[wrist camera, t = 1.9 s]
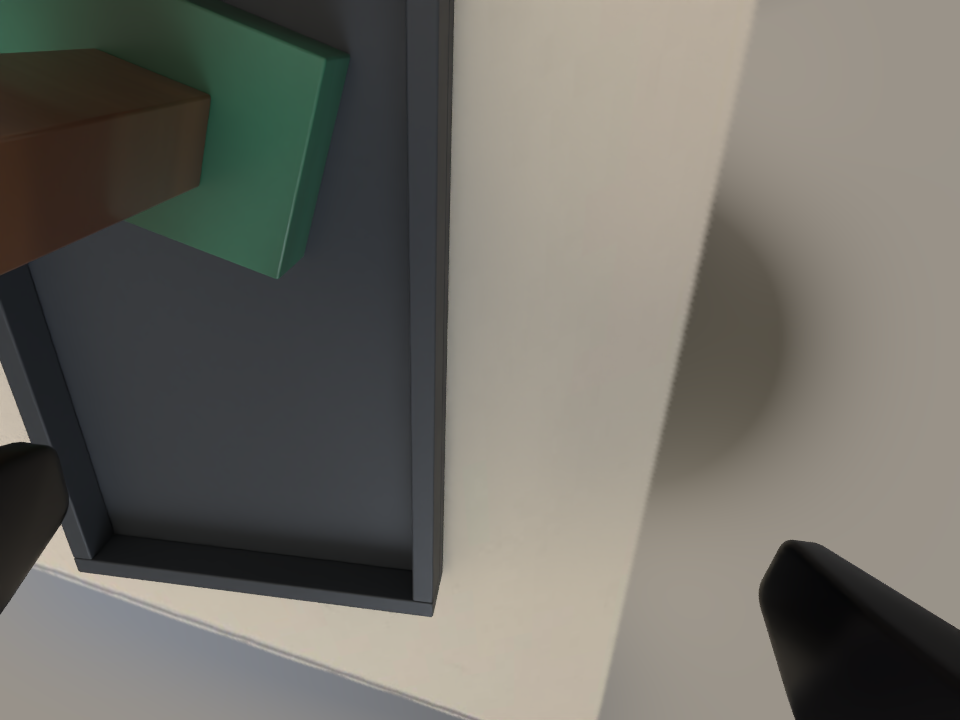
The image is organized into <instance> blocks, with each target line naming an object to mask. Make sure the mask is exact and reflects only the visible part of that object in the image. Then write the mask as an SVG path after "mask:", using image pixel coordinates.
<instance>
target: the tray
mask: <svg viewBox="0 0 960 720" xmlns="http://www.w3.org/2000/svg"><path fill="white" fill-rule="evenodd" d="M220 1H222V2H225V3H227V4H230V5H232V6H234V7H237V8H239V9H242V10H244V11H246V12H249V13H251V14H254V15H256V16H259V17H261V18H263V19H266V20H268V21H271V22H273V23H275V24H278V25H280V26H283V27H285V28H288V29H290V30H292V31H295V32H297V33H300V34H302V35H304V36H307V37H309V38H312V39H314V40H317V41H319V42H321V43H324V44H326V45H329V46H331V47H333V48H336V49H338V50H341V51H343V52H346V53H348V54H349V55H350V61H349V66H348V70H347V74H346V78H345V83H344V87H343V91H342V95H341V100H340V104H339V108H338V112H337V117H336V121H335V125H334V129H333V134H332V138H331V142H330V146H329V151H328V155H327V159H326V163H325V168H324V172H323V176H322V180H321V185H320V189H319V193H318V197H317V202H316V206H315V210H314V215H313V219H312V223H311V227H310V232H309V236H308V240H307V244H306V249H305V253H304V256H303V258H301V259H300V260H299V261H298V262H297V263H296V264H295V265H294V266H293V267H292V268H290V269H289V270H288V271H287V272H286V273H285V274H284V275H283V276H282V277H280V278H279V279H275V278H272V277H269V276H267V275H264V274H261V273H259V272H256V271H254V270H251V269H248V268H246V267H243V266H241V265H238V264H235V263H233V262H230V261H228V260H225V259H222V258H220V257H217V256H215V255H212V254H209V253H207V252H204V251H202V250H199V249H196V248H194V247H191V246H188V245H186V244H183V243H181V242H178V241H175V240H173V239H170V238H168V237H165V236H162V235H160V234H157V233H155V232H152V231H149V230H147V229H144V228H142V227H139V226H136V225H134V224H131V223H129V222H126V221H120V222H118V223H116V224H114V225H111V226H109V227H107V228H105V229H103V230H100V231H98V232H96V233H94V234H91V235H89V236H87V237H85V238H83V239H80V240H78V241H76V242H74V243H71V244H69V245H67V246H65V247H63V248H60V249H58V250H56V251H54V252H51V253H49V254H47V255H45V256H42V257H40V258H38V259H36V260H34V261H31V262H29V263H27V264H25V265H22V266H20V267H18V268H16V269H14V270H11V271H9V272H7V273H5V274H2V275H0V361H1V364H2V367H3V369H4V372H5V375H6V377H7V380H8V383H9V385H10V388H11V391H12V393H13V396H14V399H15V401H16V404H17V407H18V409H19V412H20V415H21V417H22V420H23V423H24V425H25V428H26V431H27V433H28V436H29V439H30V441H31V443H34V444H41V445H48V446H51V447H53V448H54V449H55V450H56V451H57V453H58V455H59V458H60V462H61V466H62V470H63V474H64V478H65V482H66V485H67V489H68V493H69V507H68V511H67V514H66V516H65V518H64V520H63V522H62V523H61V524H62V527H63V530H64V532H65V535H66V538H67V540H68V543H69V546H70V548H71V551H72V554H73V556H74V557H75V558H74V560H75V562H76V565H77V568H78V570H79V571H80V572H85V573H93V574H101V575H109V576H116V577H124V578H132V579H140V580H148V581H155V582H163V583H171V584H179V585H186V586H194V587H202V588H210V589H217V590H225V591H233V592H241V593H248V594H256V595H264V596H272V597H280V598H287V599H295V600H303V601H311V602H318V603H326V604H334V605H342V606H349V607H357V608H365V609H373V610H381V611H388V612H396V613H404V614H412V615H419V616H427V617H432V616H433V613H434V608H435V604H436V599H437V595H438V590H439V585H440V581H441V576H442V566H443V518H444V469H445V420H446V372H447V323H448V274H449V225H450V177H451V128H452V79H453V30H454V0H220Z"/></svg>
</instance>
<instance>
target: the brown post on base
mask: <svg viewBox="0 0 960 720" xmlns="http://www.w3.org/2000/svg"><path fill="white" fill-rule="evenodd" d="M349 61H350V55H349V54H348V53H346V52H343V51H341V50H338V49H336V48H333V47H331V46H329V45H326V44H324V43H321V42H319V41H317V40H314V39H312V38H309V37H307V36H304V35H302V34H300V33H297V32H295V31H292V30H290V29H288V28H285V27H283V26H280V25H278V24H275V23H273V22H271V21H268V20H266V19H263V18H261V17H259V16H256V15H254V14H251V13H249V12H246V11H244V10H242V9H239V8H237V7H234V6H232V5H230V4H227V3H225V2H222V1H220V0H0V275H2V274H5V273H7V272H9V271H11V270H14V269H16V268H18V267H20V266H22V265H25V264H27V263H29V262H31V261H34V260H36V259H38V258H40V257H42V256H45V255H47V254H49V253H51V252H54V251H56V250H58V249H60V248H63V247H65V246H67V245H69V244H71V243H74V242H76V241H78V240H80V239H83V238H85V237H87V236H89V235H91V234H94V233H96V232H98V231H100V230H103V229H105V228H107V227H109V226H111V225H114V224H116V223H118V222H120V221H126V222H129V223H131V224H134V225H136V226H139V227H142V228H144V229H147V230H149V231H152V232H155V233H157V234H160V235H162V236H165V237H168V238H170V239H173V240H175V241H178V242H181V243H183V244H186V245H188V246H191V247H194V248H196V249H199V250H202V251H204V252H207V253H209V254H212V255H215V256H217V257H220V258H222V259H225V260H228V261H230V262H233V263H235V264H238V265H241V266H243V267H246V268H248V269H251V270H254V271H256V272H259V273H261V274H264V275H267V276H269V277H272V278H275V279H279V278H280V277H282V276H283V275H284V274H285V273H286V272H287V271H288V270H289V269H290V268H292V267H293V266H294V265H295V264H296V263H297V262H298V261H299V260H300V259H301V258H303V256H304V253H305V249H306V244H307V240H308V236H309V232H310V227H311V223H312V219H313V215H314V210H315V206H316V202H317V197H318V193H319V189H320V185H321V180H322V176H323V172H324V168H325V163H326V159H327V155H328V151H329V146H330V142H331V138H332V134H333V129H334V125H335V121H336V117H337V112H338V108H339V104H340V100H341V95H342V91H343V87H344V83H345V78H346V74H347V70H348V66H349Z"/></svg>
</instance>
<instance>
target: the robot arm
mask: <svg viewBox="0 0 960 720" xmlns="http://www.w3.org/2000/svg"><path fill="white" fill-rule="evenodd" d="M68 507H69V493H68V489H67V485H66V482H65V478H64V474H63V470H62V466H61V462H60V458H59V455H58V453H57V451H56V450H55V449H54V448H53V447H51V446H48V445H41V444H34V443H26V442H16V443H11V444H7V445H3V446H0V614H1V613H2V611H3V610H4V608H5V607H6V606H7V604H8V602H9V601H10V600H11V598H12V597H13V595H14V594H15V592H16V591H17V589H18V588H19V586H20V584H21V583H22V582H23V580H24V579H25V577H26V576H27V574H28V573H29V571H30V570H31V568H32V567H33V565H34V564H35V562H36V561H37V559H38V558H39V556H40V555H41V553H42V552H43V550H44V549H45V547H46V546H47V544H48V543H49V541H50V540H51V538H52V537H53V535H54V534H55V532H56V531H57V529H58V528H59V526H60V525H61V523H62V522H63V520H64V518H65V516H66V514H67V511H68ZM759 602H760V607H761V611H762V614H763V617H764V621H765V624H766V627H767V631H768V634H769V637H770V640H771V644H772V647H773V651H774V654H775V657H776V661H777V664H778V667H779V671H780V674H781V677H782V681H783V684H784V687H785V691H786V694H787V697H788V700H789V702H790V706H791V709H792V712H793V715H794V717H795V720H960V630H959V629H957V628H955V627H954V626H952V625H951V624H949V623H947V622H946V621H944V620H943V619H941V618H939V617H938V616H936V615H934V614H933V613H931V612H929V611H928V610H926V609H925V608H923V607H921V606H920V605H918V604H917V603H915V602H913V601H912V600H910V599H908V598H907V597H905V596H904V595H902V594H900V593H899V592H897V591H895V590H894V589H892V588H891V587H889V586H887V585H886V584H884V583H882V582H881V581H879V580H878V579H876V578H874V577H873V576H871V575H869V574H868V573H866V572H864V571H863V570H861V569H860V568H858V567H856V566H855V565H853V564H852V563H850V562H848V561H846V560H845V559H843V558H842V557H840V556H839V555H837V554H835V553H834V552H832V551H830V550H829V549H827V548H825V547H824V546H822V545H820V544H817V543H813V542H805V541H797V540H788V541H785V542H784V543H783V544H782V545H781V546H780V547H779V549H778V551H777V553H776V555H775V557H774V559H773V561H772V562H771V564H770V566H769V568H768V570H767V571H766V573H765V575H764V577H763V579H762V581H761V584H760V588H759Z"/></svg>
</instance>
